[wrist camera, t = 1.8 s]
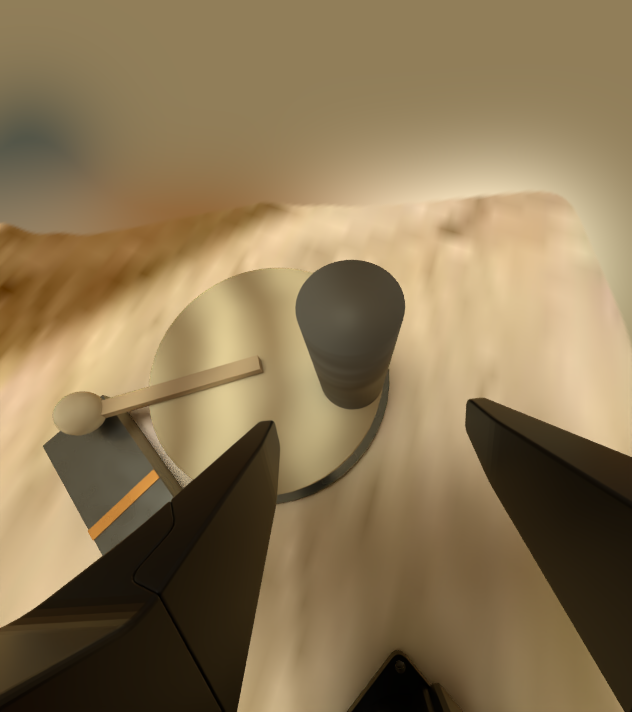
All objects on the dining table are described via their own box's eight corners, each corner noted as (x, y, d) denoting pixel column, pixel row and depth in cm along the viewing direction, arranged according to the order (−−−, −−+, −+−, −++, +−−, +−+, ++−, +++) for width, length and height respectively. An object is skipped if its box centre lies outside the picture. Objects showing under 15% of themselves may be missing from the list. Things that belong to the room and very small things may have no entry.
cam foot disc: (85, 550, 19) (-193, 625, 9) (92, 330, 25) (-71, 237, 16) (418, 455, 19) (485, 430, 9) (343, 256, 25) (335, 116, 15)
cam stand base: (182, 654, 17) (164, 672, 16) (58, 438, 23) (35, 435, 22) (438, 372, 22) (445, 363, 20) (279, 249, 27) (274, 234, 26)
